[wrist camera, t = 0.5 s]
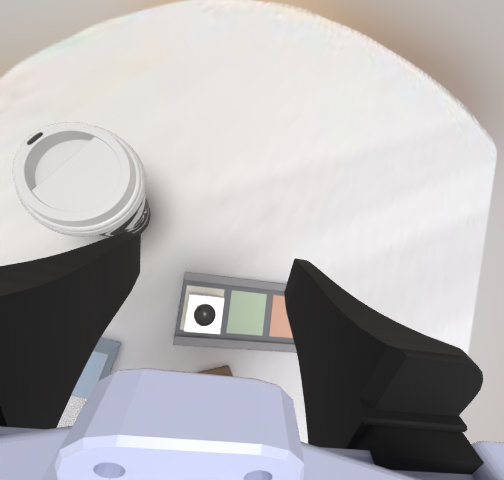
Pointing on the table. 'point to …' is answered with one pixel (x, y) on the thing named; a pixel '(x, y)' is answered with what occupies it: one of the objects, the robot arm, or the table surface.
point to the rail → (239, 314)
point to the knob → (204, 313)
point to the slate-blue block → (96, 367)
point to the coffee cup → (81, 181)
